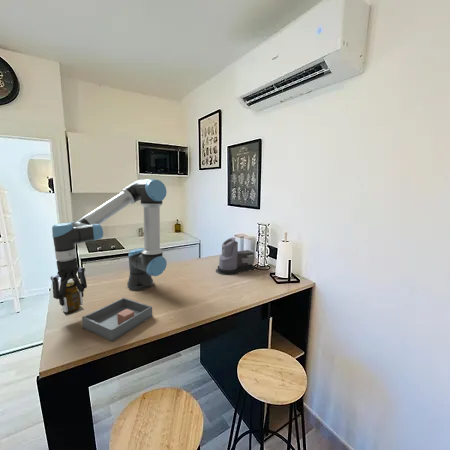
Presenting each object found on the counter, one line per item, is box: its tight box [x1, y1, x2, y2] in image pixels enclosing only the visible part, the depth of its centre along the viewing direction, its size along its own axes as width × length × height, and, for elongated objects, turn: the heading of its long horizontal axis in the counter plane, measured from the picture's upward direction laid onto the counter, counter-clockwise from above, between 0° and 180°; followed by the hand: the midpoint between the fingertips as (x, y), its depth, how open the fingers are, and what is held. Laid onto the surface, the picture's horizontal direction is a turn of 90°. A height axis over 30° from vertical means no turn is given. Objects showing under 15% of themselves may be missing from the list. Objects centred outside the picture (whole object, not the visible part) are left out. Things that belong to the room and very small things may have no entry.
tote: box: [81, 297, 153, 342], centre depth 111 cm, size 20×22×5 cm
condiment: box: [60, 281, 85, 317], centre depth 110 cm, size 7×8×12 cm
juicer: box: [215, 237, 257, 276], centre depth 179 cm, size 30×16×24 cm, turn 114°
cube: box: [117, 309, 134, 324], centre depth 109 cm, size 5×5×5 cm
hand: (73, 307), depth 111 cm, fingers closed on condiment, 6 cm apart
